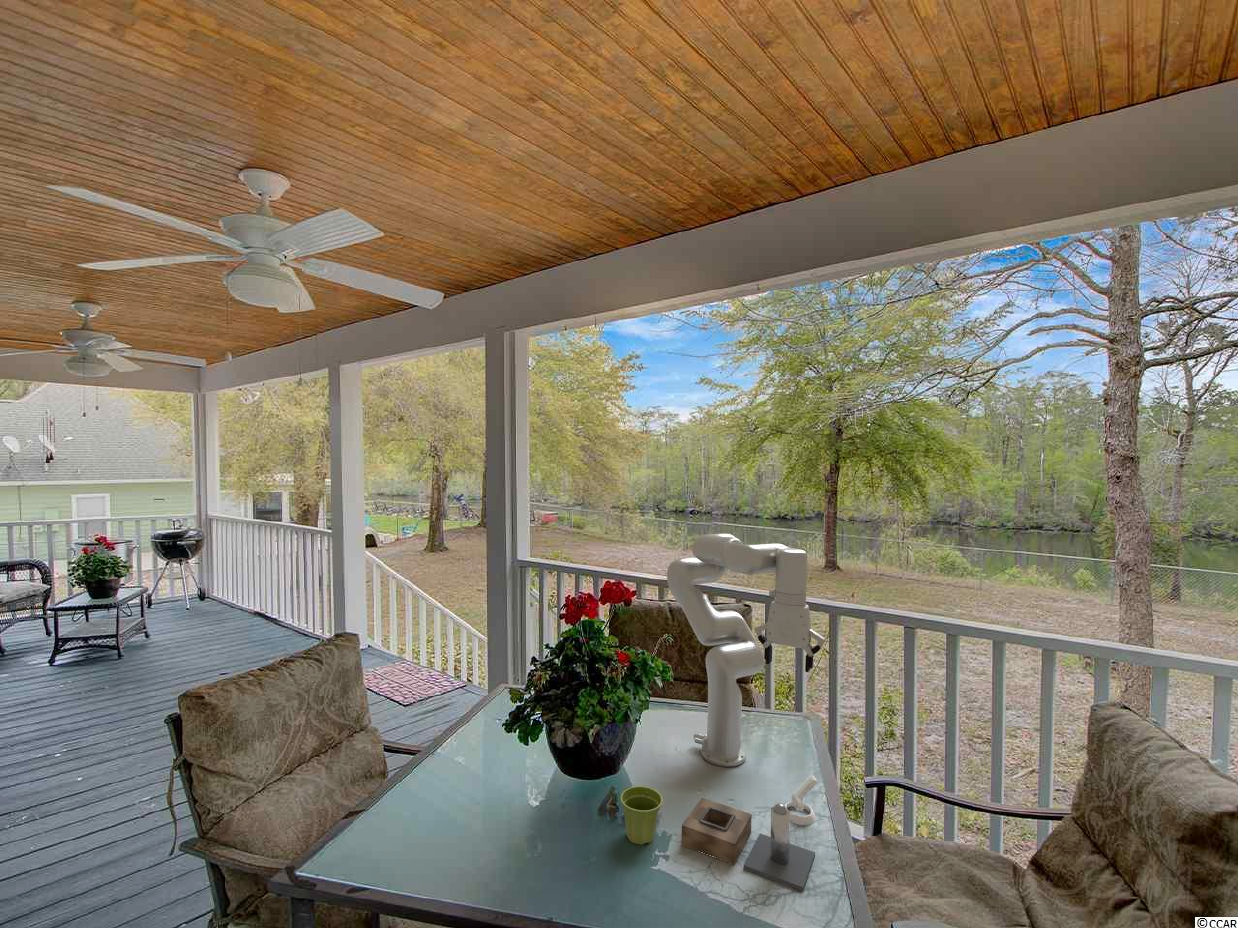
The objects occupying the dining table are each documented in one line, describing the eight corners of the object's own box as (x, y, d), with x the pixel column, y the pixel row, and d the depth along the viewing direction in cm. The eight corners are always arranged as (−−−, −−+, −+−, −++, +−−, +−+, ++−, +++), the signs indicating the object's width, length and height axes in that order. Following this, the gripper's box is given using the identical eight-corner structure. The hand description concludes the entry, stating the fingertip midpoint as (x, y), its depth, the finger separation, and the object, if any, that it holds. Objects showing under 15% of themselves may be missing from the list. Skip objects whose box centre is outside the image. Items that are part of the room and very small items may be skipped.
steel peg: (768, 860, 123) (769, 806, 123) (772, 849, 126) (773, 797, 126) (787, 866, 121) (787, 811, 121) (790, 855, 125) (791, 802, 124)
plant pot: (666, 828, 134) (667, 791, 134) (654, 854, 125) (656, 814, 125) (627, 819, 137) (628, 782, 137) (613, 844, 128) (614, 804, 128)
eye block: (681, 845, 128) (681, 822, 128) (701, 816, 139) (701, 795, 139) (734, 865, 122) (735, 841, 122) (751, 833, 133) (751, 812, 133)
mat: (743, 868, 121) (743, 864, 121) (759, 836, 132) (759, 833, 132) (803, 891, 116) (803, 887, 116) (814, 855, 126) (815, 852, 126)
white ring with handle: (841, 804, 136) (820, 791, 135) (808, 840, 138) (786, 827, 136) (827, 780, 144) (807, 767, 142) (796, 814, 145) (775, 801, 144)
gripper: (751, 596, 147) (749, 664, 148) (823, 606, 139) (821, 678, 139) (760, 590, 154) (758, 655, 154) (829, 600, 145) (826, 668, 146)
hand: (788, 666), depth 147 cm, fingers open, 9 cm apart
